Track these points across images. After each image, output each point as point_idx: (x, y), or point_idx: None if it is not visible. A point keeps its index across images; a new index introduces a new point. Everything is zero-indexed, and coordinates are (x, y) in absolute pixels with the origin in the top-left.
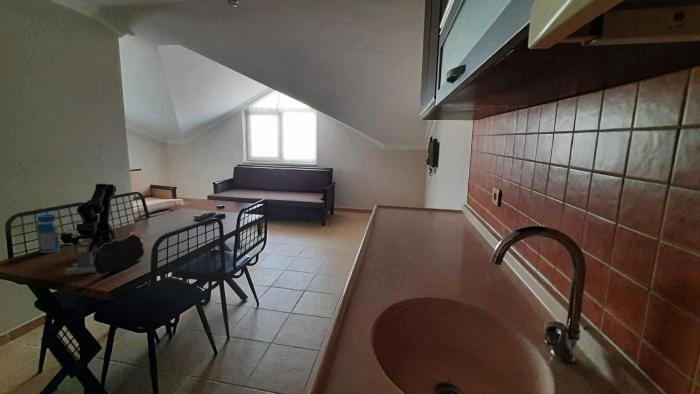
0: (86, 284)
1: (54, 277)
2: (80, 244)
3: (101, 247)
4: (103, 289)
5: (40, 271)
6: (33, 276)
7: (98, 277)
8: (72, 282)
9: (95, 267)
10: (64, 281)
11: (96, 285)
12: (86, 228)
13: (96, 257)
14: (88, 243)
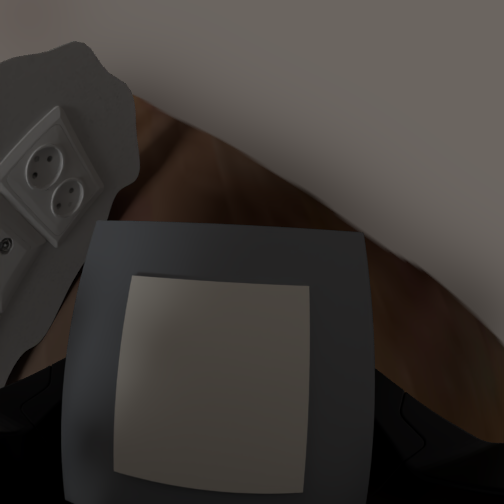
0: (187, 138)
1: (382, 282)
2: (265, 260)
3: (34, 57)
4: (133, 97)
5: (478, 402)
6: (476, 329)
7: (142, 201)
8: (255, 174)
9: (130, 128)
10: (301, 200)
11: (151, 123)
12: None
13: (101, 76)
14: (87, 300)
